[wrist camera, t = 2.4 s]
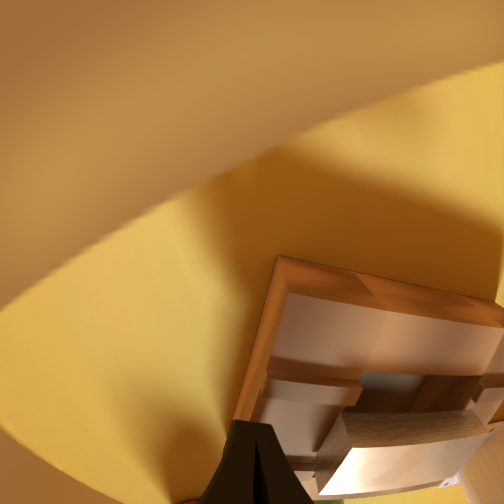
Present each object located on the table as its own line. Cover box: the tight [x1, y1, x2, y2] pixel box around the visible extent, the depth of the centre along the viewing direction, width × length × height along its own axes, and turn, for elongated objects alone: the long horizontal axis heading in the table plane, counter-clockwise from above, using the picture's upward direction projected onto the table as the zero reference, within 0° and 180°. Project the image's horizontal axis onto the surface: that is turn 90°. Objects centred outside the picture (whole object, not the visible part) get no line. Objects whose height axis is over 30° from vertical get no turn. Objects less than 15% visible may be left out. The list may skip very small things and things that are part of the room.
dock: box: [232, 255, 504, 500], centre depth 12 cm, size 13×11×4 cm
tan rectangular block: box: [312, 409, 490, 495], centre depth 10 cm, size 7×3×2 cm, turn 77°
